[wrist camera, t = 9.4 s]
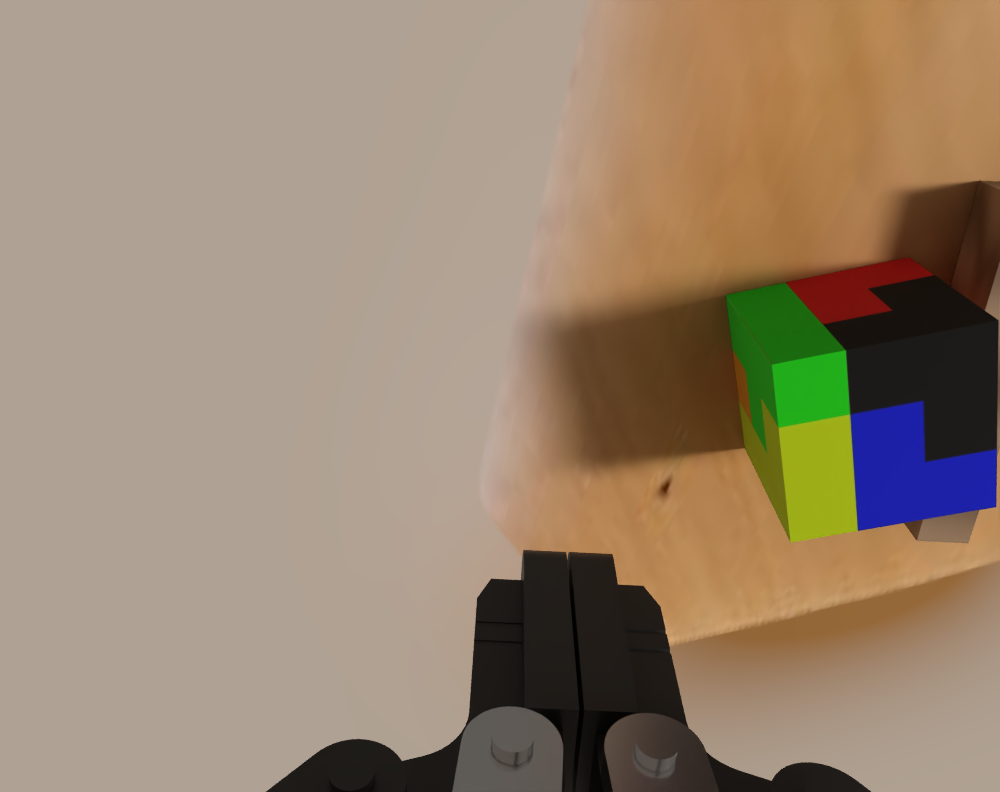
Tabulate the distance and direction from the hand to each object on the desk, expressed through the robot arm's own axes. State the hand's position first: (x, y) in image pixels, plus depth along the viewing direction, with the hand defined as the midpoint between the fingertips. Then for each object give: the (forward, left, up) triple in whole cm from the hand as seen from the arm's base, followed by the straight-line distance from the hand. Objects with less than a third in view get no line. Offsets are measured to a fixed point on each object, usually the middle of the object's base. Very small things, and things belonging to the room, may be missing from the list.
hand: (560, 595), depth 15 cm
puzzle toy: (+9, +17, -35) cm, 40 cm away
